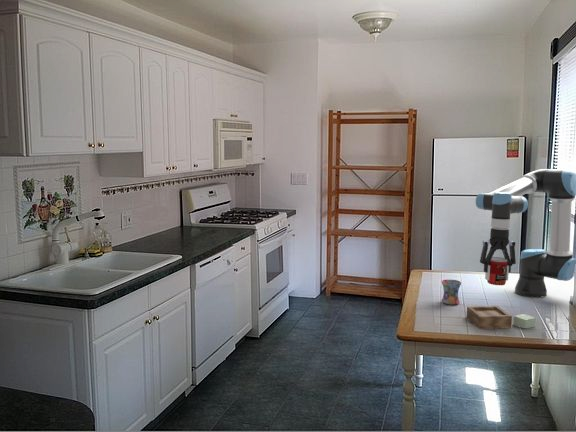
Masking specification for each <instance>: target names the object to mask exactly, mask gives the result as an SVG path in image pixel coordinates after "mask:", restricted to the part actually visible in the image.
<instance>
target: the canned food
mask: <svg viewBox="0 0 576 432" xmlns="http://www.w3.org/2000/svg"><path fill="white" fill-rule="evenodd" d="M489 265H490V276H489V280H486V281H487V283H488V284H489V285H492V286H505V285H506V284H507V280H506V274H507V259H505V258H504V257H501V256H492V258H491V260H490V263H489Z"/></svg>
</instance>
